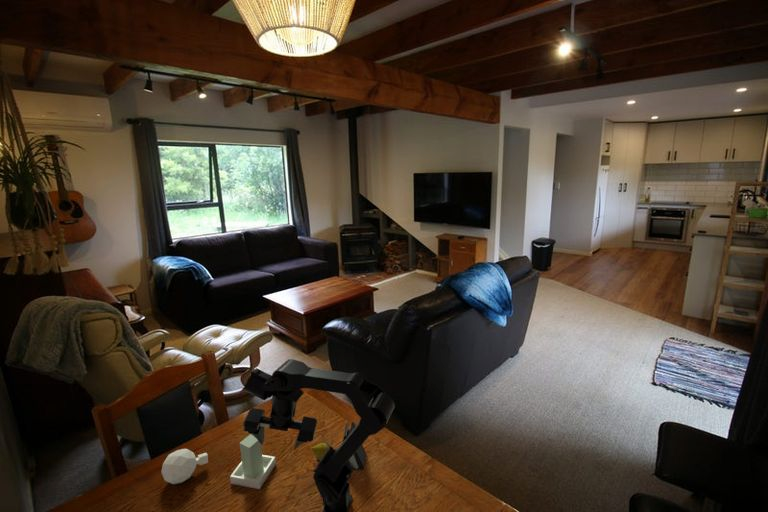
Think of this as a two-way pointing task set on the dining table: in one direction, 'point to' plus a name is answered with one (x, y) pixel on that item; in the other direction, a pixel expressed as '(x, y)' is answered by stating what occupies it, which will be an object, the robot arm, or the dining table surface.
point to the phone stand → (359, 456)
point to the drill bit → (320, 449)
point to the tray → (257, 483)
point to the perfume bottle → (181, 465)
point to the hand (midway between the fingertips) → (278, 445)
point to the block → (251, 456)
